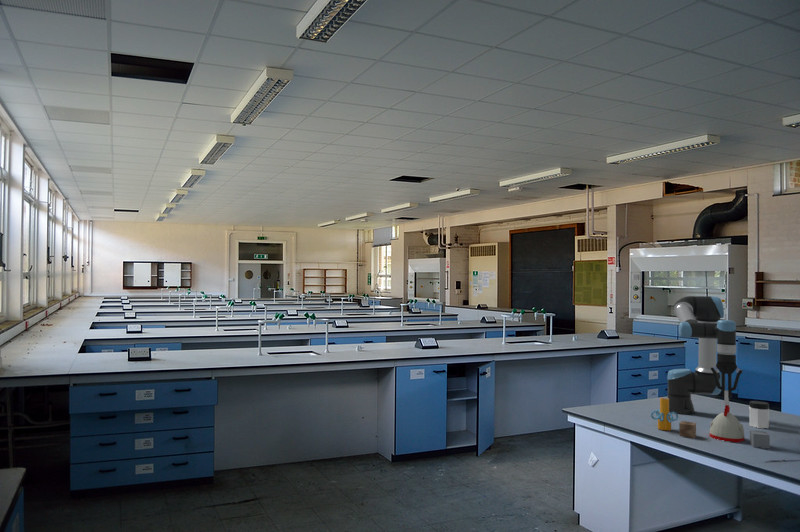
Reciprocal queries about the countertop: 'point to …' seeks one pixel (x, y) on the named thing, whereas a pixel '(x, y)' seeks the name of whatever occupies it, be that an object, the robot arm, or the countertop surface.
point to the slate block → (759, 439)
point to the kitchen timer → (727, 427)
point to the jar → (759, 414)
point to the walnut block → (687, 429)
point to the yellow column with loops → (664, 415)
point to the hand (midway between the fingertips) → (726, 404)
